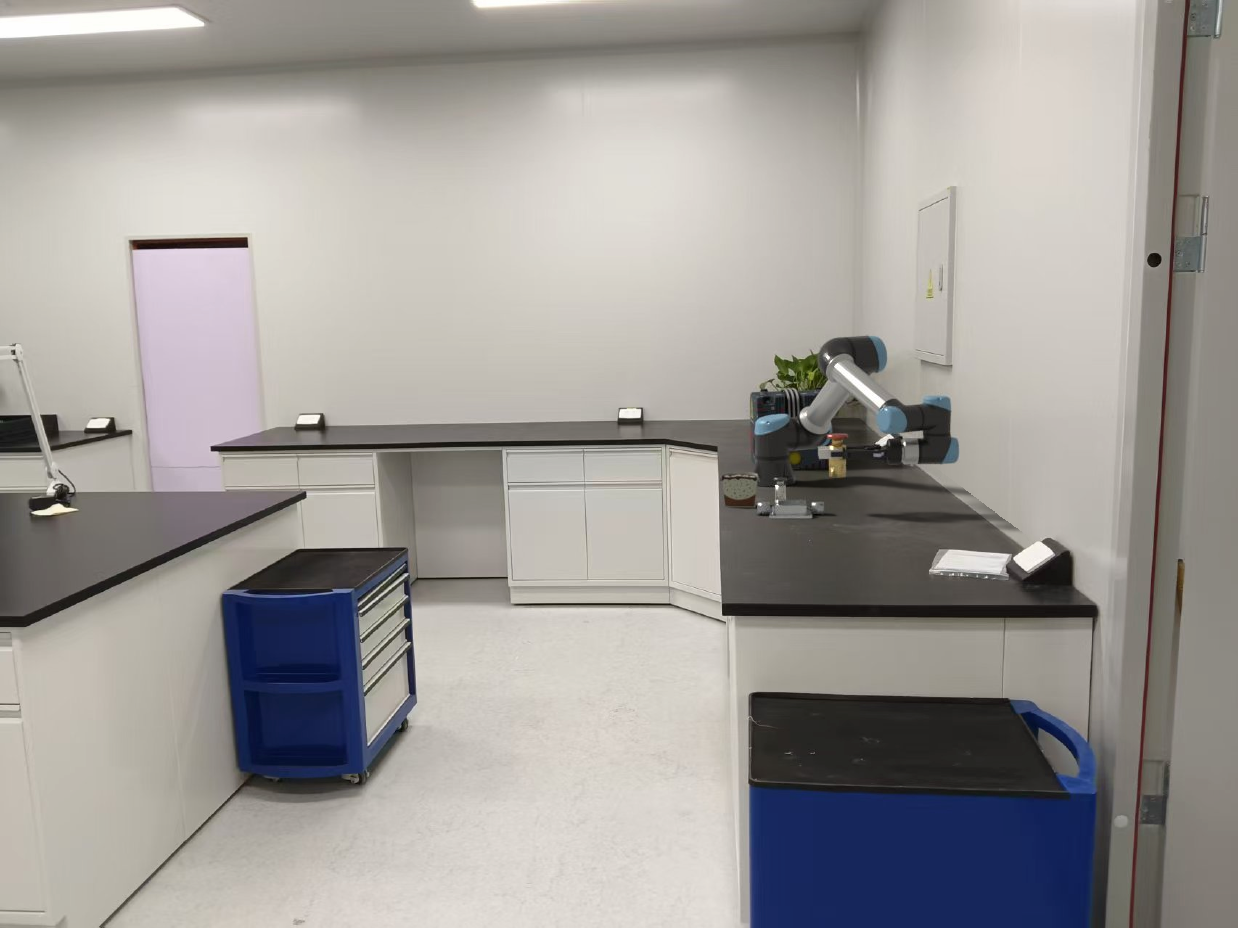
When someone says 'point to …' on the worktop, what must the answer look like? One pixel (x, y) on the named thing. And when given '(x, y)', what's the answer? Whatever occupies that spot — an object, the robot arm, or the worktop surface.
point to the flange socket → (790, 509)
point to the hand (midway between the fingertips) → (818, 452)
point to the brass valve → (837, 465)
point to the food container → (739, 489)
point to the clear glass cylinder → (780, 488)
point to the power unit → (792, 406)
